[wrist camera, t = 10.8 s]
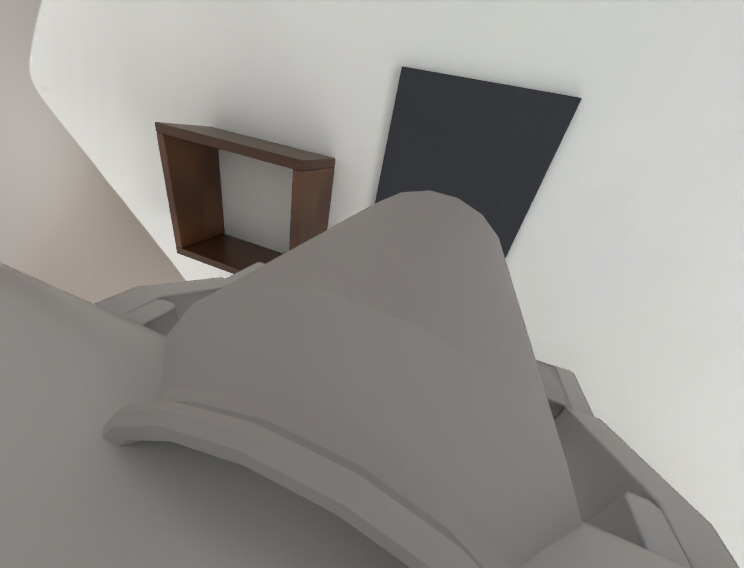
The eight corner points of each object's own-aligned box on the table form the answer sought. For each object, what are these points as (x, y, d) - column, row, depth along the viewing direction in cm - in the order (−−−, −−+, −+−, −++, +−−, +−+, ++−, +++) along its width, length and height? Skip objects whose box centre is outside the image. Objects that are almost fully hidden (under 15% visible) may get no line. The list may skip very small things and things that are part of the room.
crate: (210, 126, 29) (154, 121, 24) (335, 158, 26) (302, 160, 21) (220, 238, 35) (176, 253, 30) (322, 273, 32) (294, 296, 27)
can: (541, 232, 11) (1162, 971, 1) (452, 351, 15) (412, 765, 5) (381, 159, 12) (-103, 210, 2) (335, 290, 16) (91, 539, 6)
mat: (402, 67, 21) (401, 66, 21) (580, 98, 19) (582, 98, 19) (360, 284, 31) (358, 285, 31) (473, 322, 29) (473, 324, 28)
